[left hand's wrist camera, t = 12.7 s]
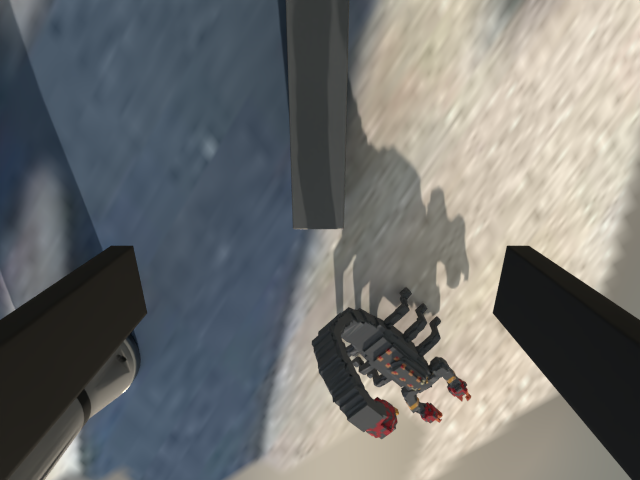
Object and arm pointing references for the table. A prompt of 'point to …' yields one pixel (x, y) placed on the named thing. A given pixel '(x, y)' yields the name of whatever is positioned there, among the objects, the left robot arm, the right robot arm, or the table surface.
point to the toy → (381, 366)
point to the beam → (317, 110)
